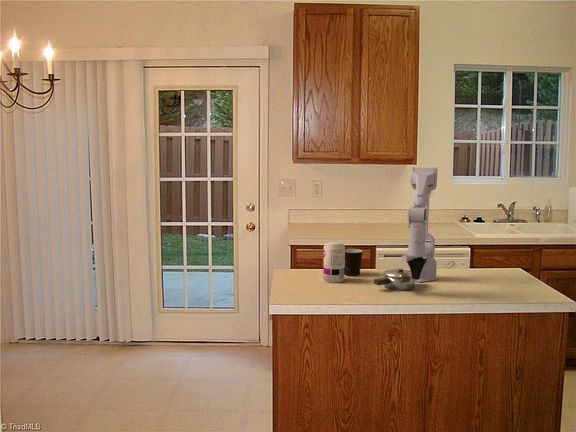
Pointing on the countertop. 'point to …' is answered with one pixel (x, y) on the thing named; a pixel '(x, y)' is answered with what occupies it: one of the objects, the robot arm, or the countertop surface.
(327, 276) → the supplement can
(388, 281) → the pot
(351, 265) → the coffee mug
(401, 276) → the lid
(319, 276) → the countertop surface
